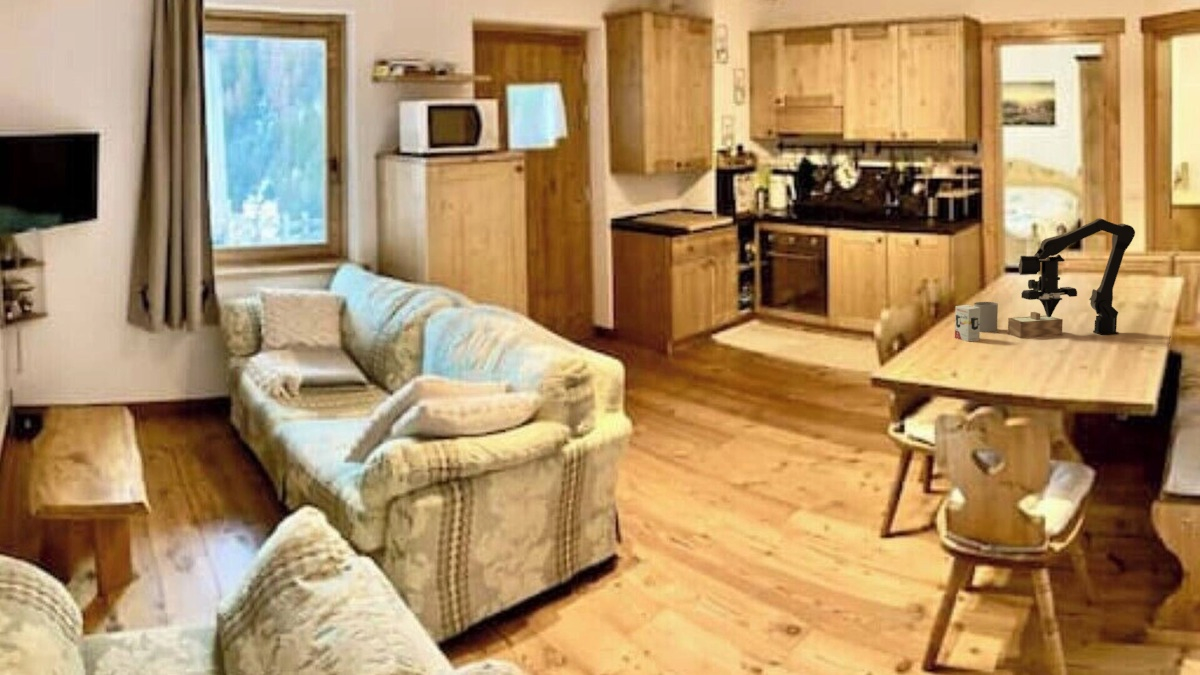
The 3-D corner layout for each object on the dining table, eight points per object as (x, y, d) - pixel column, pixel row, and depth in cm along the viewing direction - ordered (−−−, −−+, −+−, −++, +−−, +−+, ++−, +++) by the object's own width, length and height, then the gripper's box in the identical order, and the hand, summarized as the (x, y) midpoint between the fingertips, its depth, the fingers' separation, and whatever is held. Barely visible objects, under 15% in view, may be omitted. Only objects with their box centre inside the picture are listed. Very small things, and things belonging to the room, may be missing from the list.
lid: (1050, 317, 438) (1050, 309, 438) (1061, 320, 431) (1061, 313, 430) (1011, 320, 436) (1011, 312, 436) (1022, 323, 429) (1022, 315, 428)
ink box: (954, 337, 434) (954, 305, 432) (965, 336, 435) (966, 304, 433) (968, 341, 426) (968, 308, 424) (980, 340, 427) (980, 307, 425)
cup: (999, 329, 447) (1000, 302, 446) (994, 332, 441) (994, 305, 439) (976, 327, 452) (977, 301, 450) (970, 331, 445) (971, 304, 443)
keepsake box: (1048, 331, 440) (1049, 315, 439) (1062, 335, 431) (1062, 319, 430) (1007, 333, 438) (1008, 318, 437) (1020, 338, 429) (1020, 321, 428)
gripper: (1061, 269, 441) (1060, 311, 443) (1014, 273, 438) (1013, 315, 440) (1078, 273, 430) (1077, 316, 432) (1029, 276, 427) (1029, 320, 430)
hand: (1048, 317), depth 434 cm, fingers closed
